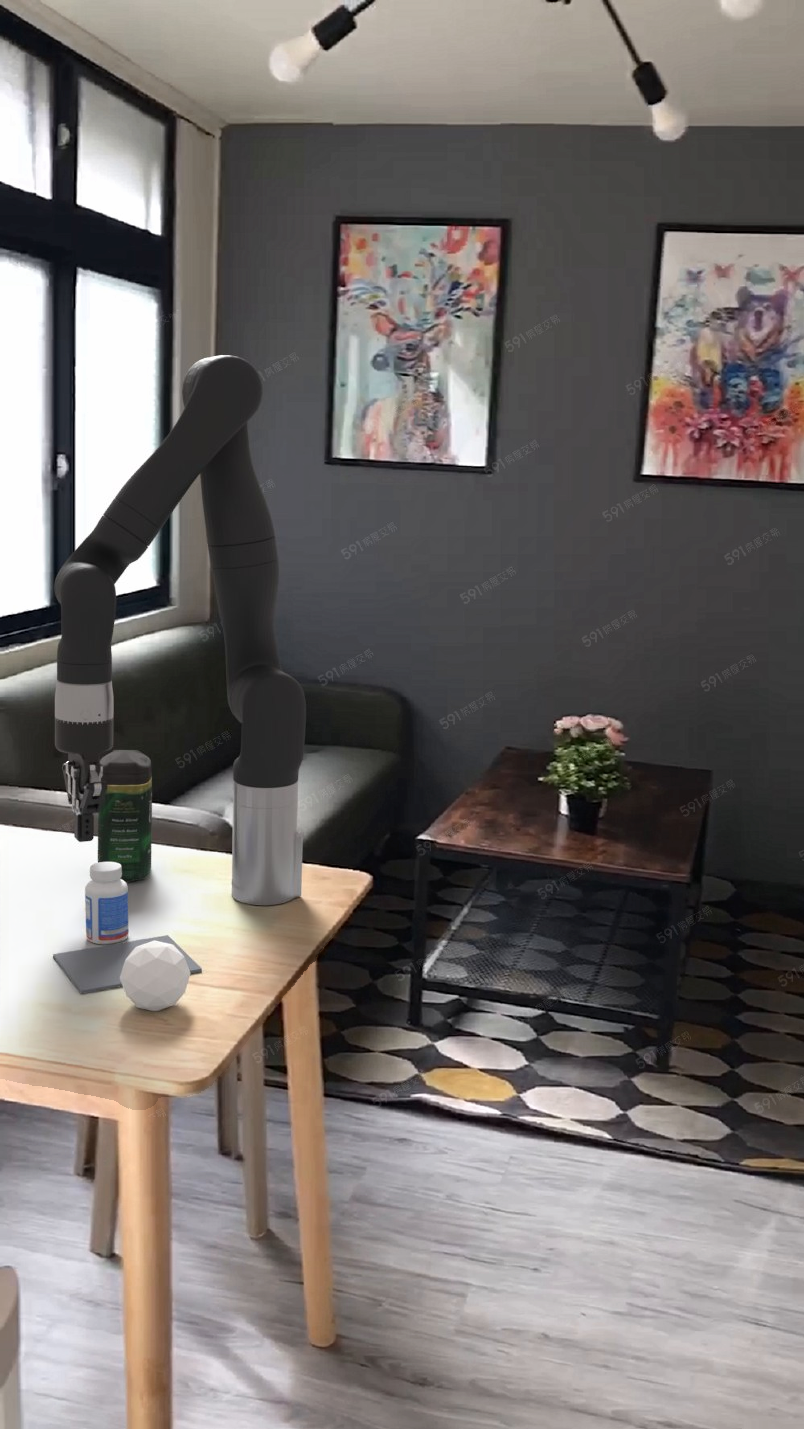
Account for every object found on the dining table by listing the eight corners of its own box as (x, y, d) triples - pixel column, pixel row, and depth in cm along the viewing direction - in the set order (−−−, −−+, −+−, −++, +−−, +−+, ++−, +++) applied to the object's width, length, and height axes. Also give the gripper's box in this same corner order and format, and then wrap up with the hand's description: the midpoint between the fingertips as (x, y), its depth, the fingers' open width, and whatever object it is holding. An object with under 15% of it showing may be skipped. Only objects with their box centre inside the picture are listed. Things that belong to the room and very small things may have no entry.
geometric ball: (136, 1029, 145) (97, 971, 145) (190, 988, 150) (152, 932, 149) (157, 1021, 139) (117, 961, 139) (213, 979, 143) (174, 921, 143)
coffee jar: (150, 884, 185) (150, 761, 181) (95, 885, 183) (93, 761, 180) (153, 863, 194) (153, 745, 190) (101, 863, 193) (99, 745, 189)
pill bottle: (136, 933, 166) (136, 863, 164) (114, 948, 161) (113, 875, 159) (100, 927, 168) (99, 857, 166) (77, 941, 163) (76, 869, 161)
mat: (167, 937, 165) (167, 935, 165) (201, 971, 155) (201, 968, 155) (53, 957, 157) (53, 954, 157) (81, 993, 147) (81, 990, 147)
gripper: (128, 722, 162) (126, 851, 166) (97, 703, 173) (96, 823, 177) (70, 726, 159) (70, 857, 162) (42, 705, 170) (42, 829, 173)
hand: (83, 839), depth 169 cm, fingers closed
